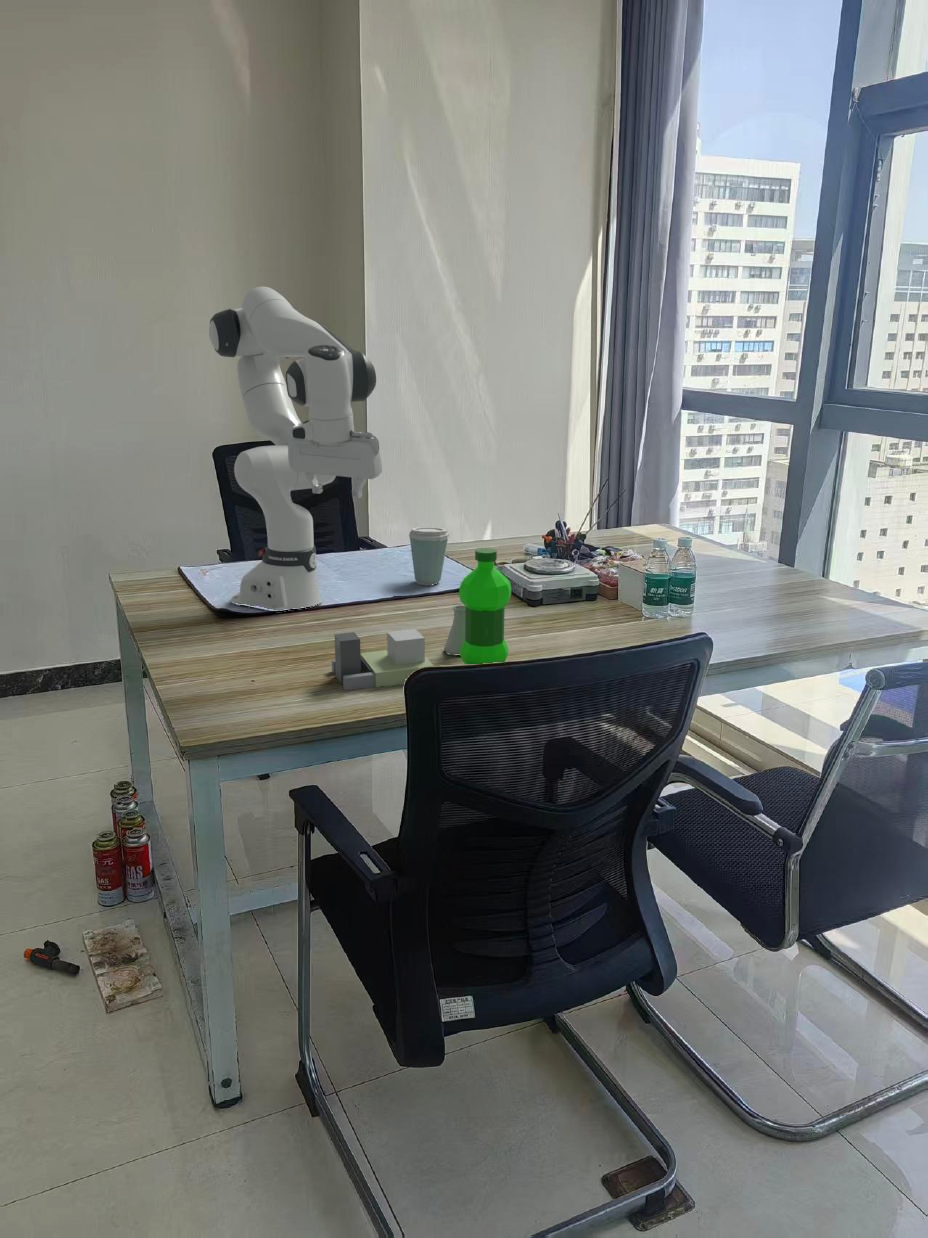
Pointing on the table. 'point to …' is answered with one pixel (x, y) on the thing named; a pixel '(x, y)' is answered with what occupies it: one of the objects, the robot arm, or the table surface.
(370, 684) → the pronged platform block
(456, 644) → the flask
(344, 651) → the chute block
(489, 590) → the plastic bottle
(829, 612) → the table surface
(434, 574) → the disposable coffee cup
